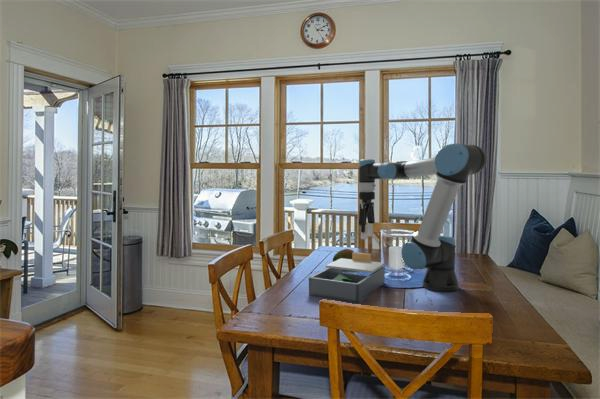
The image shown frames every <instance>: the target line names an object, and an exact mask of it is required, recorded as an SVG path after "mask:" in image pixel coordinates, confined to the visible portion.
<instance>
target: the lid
mask: <svg viewBox="0 0 600 399" xmlns="http://www.w3.org/2000/svg"><path fill="white" fill-rule="evenodd" d="M381 267H385V262H381V261H380V262H379V261H372V253H365V252H364V253H363V252H355V251H354V252H353V253H352V259H343V258H340V259H338V260H336V261H334V262H333V261H331V262H330V263H327V264H326V265H325V269H327V268H333V269H342V270H343V271H350V272H351V271H352V272H359V273H367V274H372V273H374V272H375V271H377V270H378V269H380V268H381Z"/></svg>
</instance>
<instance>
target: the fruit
mask: <svg viewBox="0 0 600 399" xmlns="http://www.w3.org/2000/svg"><path fill="white" fill-rule="evenodd" d="M353 252H355V251H354V250H353V249H349V248H344V249H341V250H339V251H337V252H336V253H335V254H334V255H333V258H332V262H334V261H336V260H338V259H340V258H343V259H352V253H353Z"/></svg>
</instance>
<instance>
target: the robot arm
mask: <svg viewBox="0 0 600 399" xmlns="http://www.w3.org/2000/svg"><path fill="white" fill-rule="evenodd" d="M487 162H488V156H487V152H486V151H485V150H484V149H483V148H482V147H480V146H478V145H477V144H462V143H449V144H446V145H444V146H442V147H441V148H440V149H439V150H437V152H436V154H435V157H429V158H423V159H418V160H413V161H412V160H411V161H405V162H377V163H376V161H375V159H373V158H372V159H370V158H369V159H367V158H366V159H360V160H359V164H358V180H359V181H358V191H359V193H358V199H359V200H361V201H362V202H361V203H359V214H358V226H360V240H367V239H368V238H369V237H371V238H373V237H374V224H375V223H376V222H375V219H376V218H375V209H374V208H375V207H374V206H375V201H373V200H375V199H376V194H375V193H376V192H375V190H376V187H377V184H375V183H376V180H384V181H385V180H407V179H411V178H417V177H427V176H434V175H435V176H436V178H437V179H436V182H435V185H434V188H433V191H432V193H431V196H430V199H429V202H428V204H427V206H426V208H425V209H426V210H425V212H424V213H423V217H422V220H421V223H420V224H419V228H418V230H417V231H414V232H413V233H412V236H411V238H410V241H407V242H406V243H404V244H403V245H402V247H401V257H402V258H403V260H404V262H405V264H406V265H407V266H408V267H409V268H410V269H412V270H424V269H426V270H425V274H424V277H423V279H422V287H423V288H424V289H426V290H430V291H433V292H441V293H442V292H443V293H448V292H449V293H451V292H455V291H459V290H460V283H459V279H458V276H457V272H456V247H457V246H456V239H455V238H454V237H453V236H448V235H441V233H442V231H443V229H444V227H445V223H446V222H447V219H448V216H449V214H450V212H451V209H452V207H453V204H454V202H455V199H456V196H457V195H458V192H459V189H460V187H461V186H463V185H466V183H467V180H468V178H469V175H471V176H472V175H476V174H478V173H481V171H483V170H484V169H485V168H486V165H487ZM372 201H373V202H372ZM367 237H368V238H367ZM404 262H403V263H404Z"/></svg>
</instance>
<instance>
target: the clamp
mask: <svg viewBox="0 0 600 399" xmlns="http://www.w3.org/2000/svg"><path fill="white" fill-rule="evenodd" d="M333 280H335V281H343V282H350V283H351V282H352V278H350V277H348V276H345V275H342V274H339V275H338V276H337V277H336V278H334V279H333Z"/></svg>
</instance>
